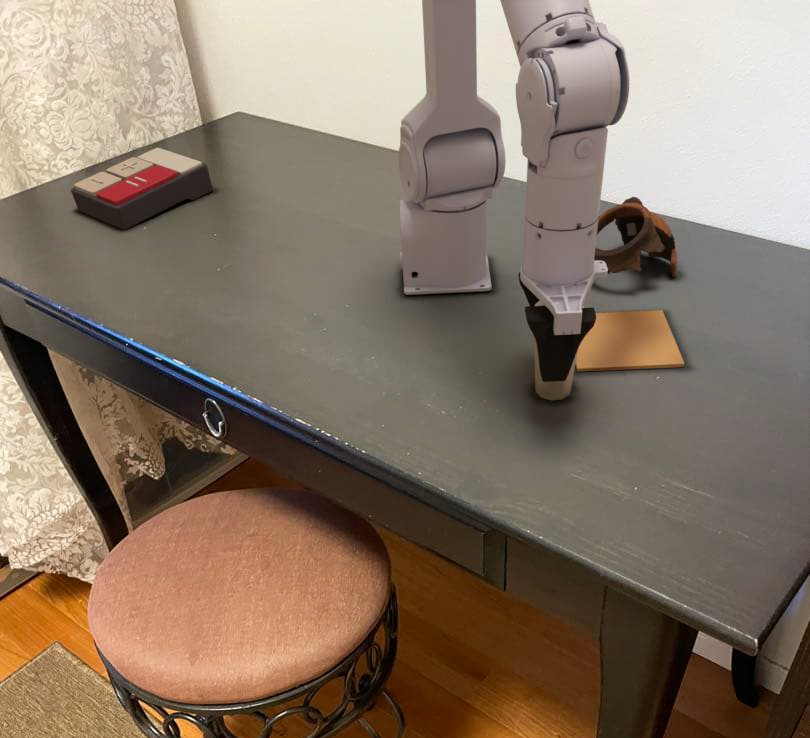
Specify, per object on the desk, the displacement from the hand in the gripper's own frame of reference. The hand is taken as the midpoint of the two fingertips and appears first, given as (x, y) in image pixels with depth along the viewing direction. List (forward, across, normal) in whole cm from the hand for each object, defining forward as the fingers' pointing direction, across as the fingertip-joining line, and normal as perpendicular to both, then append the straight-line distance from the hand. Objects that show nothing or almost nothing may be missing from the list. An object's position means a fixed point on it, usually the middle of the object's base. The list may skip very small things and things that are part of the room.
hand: (550, 364), depth 76 cm
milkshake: (+3, 0, 0) cm, 3 cm away
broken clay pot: (+3, +23, -12) cm, 26 cm away
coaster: (+3, +8, -8) cm, 12 cm away
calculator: (+3, +49, +49) cm, 69 cm away
